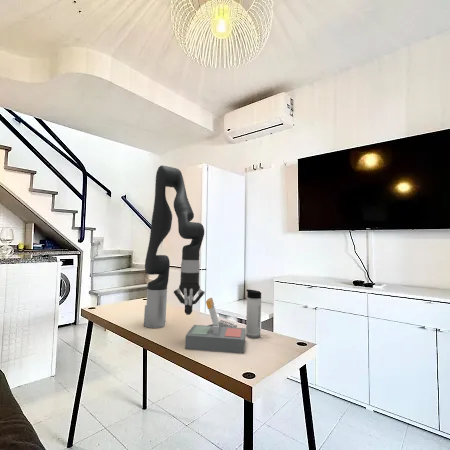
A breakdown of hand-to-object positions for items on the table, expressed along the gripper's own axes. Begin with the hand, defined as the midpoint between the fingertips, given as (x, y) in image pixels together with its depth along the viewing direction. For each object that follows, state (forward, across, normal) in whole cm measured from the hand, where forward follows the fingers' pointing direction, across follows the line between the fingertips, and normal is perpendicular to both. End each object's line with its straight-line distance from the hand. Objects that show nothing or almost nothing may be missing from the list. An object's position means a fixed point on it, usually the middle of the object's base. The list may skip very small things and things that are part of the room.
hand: (188, 314), depth 114 cm
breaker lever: (+5, +12, 0) cm, 13 cm away
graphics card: (+12, +9, +16) cm, 22 cm away
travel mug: (+11, +26, +14) cm, 31 cm away
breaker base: (+11, +12, 0) cm, 16 cm away
